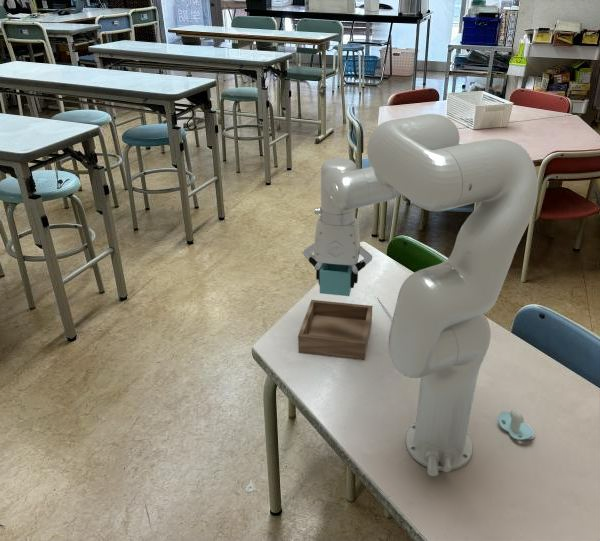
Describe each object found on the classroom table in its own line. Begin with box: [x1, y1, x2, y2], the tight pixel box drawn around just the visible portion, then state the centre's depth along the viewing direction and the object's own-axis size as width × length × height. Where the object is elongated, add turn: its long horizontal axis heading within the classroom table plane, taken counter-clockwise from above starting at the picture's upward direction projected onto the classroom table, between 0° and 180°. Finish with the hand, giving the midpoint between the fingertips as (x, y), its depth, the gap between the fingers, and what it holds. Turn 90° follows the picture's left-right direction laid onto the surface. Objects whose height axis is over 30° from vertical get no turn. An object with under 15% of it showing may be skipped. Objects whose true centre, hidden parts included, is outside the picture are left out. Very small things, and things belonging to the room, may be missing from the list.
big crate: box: [297, 299, 374, 361], centre depth 136 cm, size 16×16×5 cm
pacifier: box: [497, 407, 536, 441], centre depth 108 cm, size 7×6×6 cm
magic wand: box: [377, 297, 393, 322], centre depth 146 cm, size 2×25×2 cm
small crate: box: [319, 263, 352, 297], centre depth 129 cm, size 7×7×6 cm
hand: (336, 283), depth 130 cm, fingers closed on small crate, 7 cm apart
